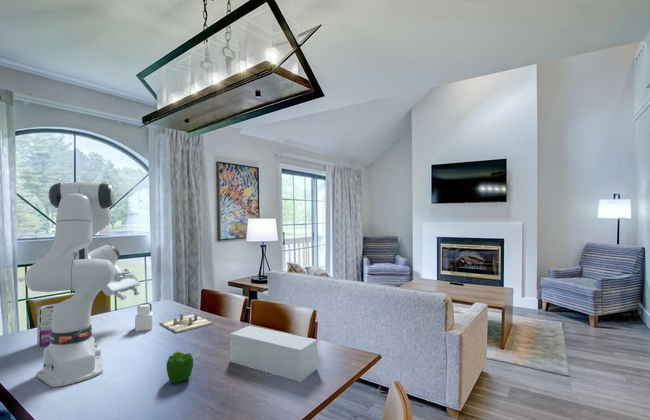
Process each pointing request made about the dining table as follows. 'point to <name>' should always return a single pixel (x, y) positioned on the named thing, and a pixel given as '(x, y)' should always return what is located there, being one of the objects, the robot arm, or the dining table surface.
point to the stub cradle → (185, 323)
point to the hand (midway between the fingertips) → (131, 296)
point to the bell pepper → (179, 367)
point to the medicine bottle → (144, 317)
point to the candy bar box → (44, 324)
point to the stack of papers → (274, 352)
